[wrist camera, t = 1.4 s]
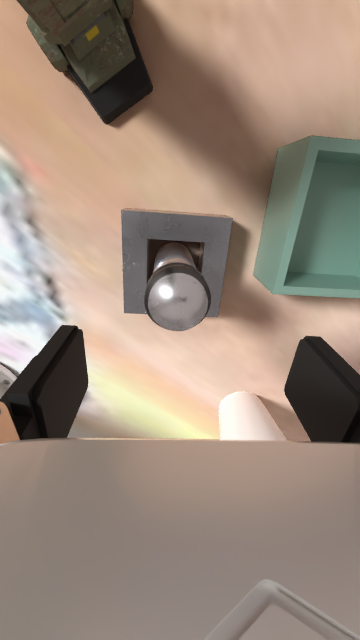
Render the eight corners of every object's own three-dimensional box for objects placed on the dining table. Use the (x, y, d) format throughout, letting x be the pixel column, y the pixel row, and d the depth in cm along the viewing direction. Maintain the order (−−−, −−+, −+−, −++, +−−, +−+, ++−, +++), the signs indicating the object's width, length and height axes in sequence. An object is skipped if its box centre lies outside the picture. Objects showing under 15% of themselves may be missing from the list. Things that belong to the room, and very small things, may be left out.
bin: (353, 280, 30) (395, 300, 24) (252, 275, 29) (272, 293, 24) (400, 159, 25) (465, 150, 19) (278, 148, 24) (311, 135, 18)
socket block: (213, 306, 30) (217, 317, 28) (128, 302, 30) (124, 313, 27) (225, 215, 26) (232, 218, 23) (126, 208, 25) (121, 209, 23)
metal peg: (192, 283, 29) (208, 335, 18) (152, 280, 29) (143, 333, 18) (196, 241, 27) (216, 272, 16) (152, 238, 27) (143, 268, 16)
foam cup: (258, 372, 35) (304, 461, 24) (280, 415, 39) (328, 509, 27) (197, 399, 37) (211, 495, 25) (223, 437, 41) (245, 536, 29)
